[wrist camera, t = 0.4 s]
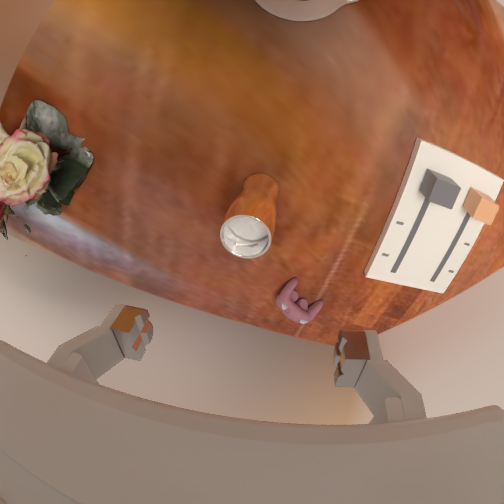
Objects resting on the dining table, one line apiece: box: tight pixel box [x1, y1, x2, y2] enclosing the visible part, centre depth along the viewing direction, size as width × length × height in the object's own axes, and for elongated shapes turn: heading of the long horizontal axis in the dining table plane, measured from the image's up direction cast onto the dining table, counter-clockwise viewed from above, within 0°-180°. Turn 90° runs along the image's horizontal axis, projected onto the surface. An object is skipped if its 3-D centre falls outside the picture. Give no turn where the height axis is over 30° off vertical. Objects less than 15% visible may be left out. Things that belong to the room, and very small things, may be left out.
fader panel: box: [364, 137, 504, 293], centre depth 45 cm, size 28×20×2 cm
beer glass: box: [220, 173, 279, 258], centre depth 42 cm, size 7×7×15 cm
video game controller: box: [276, 278, 323, 324], centre depth 59 cm, size 10×5×7 cm, turn 47°
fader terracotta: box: [463, 187, 500, 226], centre depth 37 cm, size 4×5×4 cm
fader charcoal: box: [420, 169, 461, 210], centre depth 38 cm, size 4×5×4 cm
